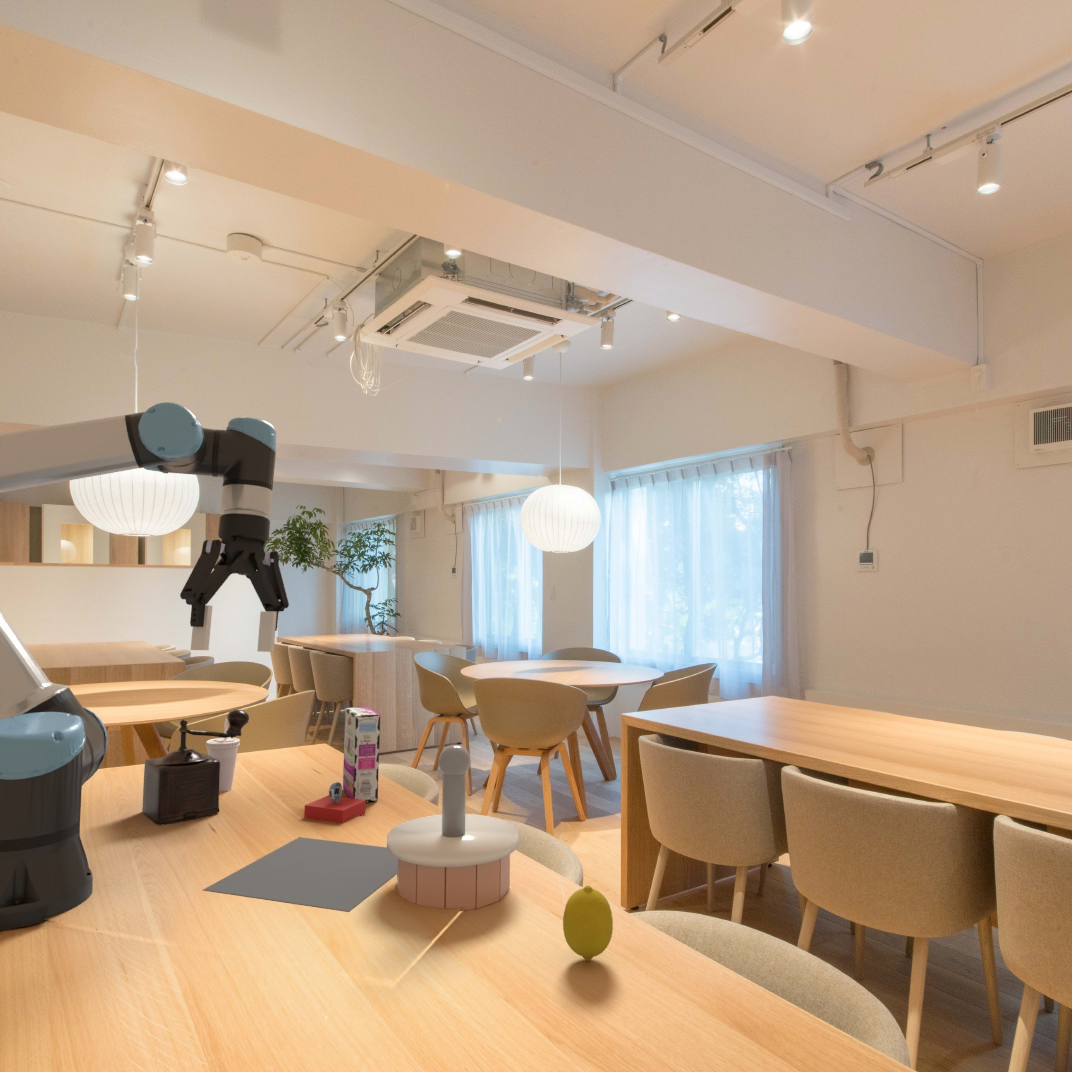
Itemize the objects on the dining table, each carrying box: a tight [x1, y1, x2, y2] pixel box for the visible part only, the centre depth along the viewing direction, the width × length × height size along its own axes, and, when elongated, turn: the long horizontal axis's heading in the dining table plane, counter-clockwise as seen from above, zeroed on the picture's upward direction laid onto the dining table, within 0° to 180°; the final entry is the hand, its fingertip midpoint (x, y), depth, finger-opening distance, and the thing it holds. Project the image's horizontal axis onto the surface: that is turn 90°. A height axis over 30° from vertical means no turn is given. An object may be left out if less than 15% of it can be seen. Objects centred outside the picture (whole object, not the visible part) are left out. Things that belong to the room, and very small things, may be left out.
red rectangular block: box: [303, 781, 367, 824], centre depth 134 cm, size 8×7×6 cm
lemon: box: [562, 885, 614, 962], centre depth 84 cm, size 6×6×8 cm
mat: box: [202, 836, 397, 913], centre depth 108 cm, size 22×22×1 cm
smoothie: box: [205, 718, 241, 793], centre depth 151 cm, size 6×6×14 cm
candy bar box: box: [342, 706, 381, 803], centre depth 148 cm, size 11×5×16 cm, turn 25°
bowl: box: [396, 854, 511, 912], centre depth 104 cm, size 15×15×6 cm
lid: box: [386, 744, 520, 867], centre depth 104 cm, size 18×18×13 cm
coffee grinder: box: [141, 709, 250, 826], centre depth 138 cm, size 16×11×18 cm
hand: (234, 651), depth 117 cm, fingers open, 13 cm apart
